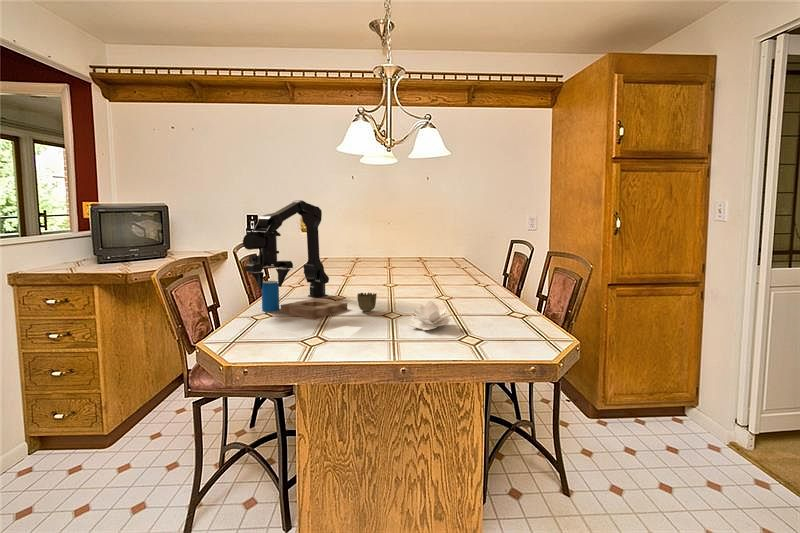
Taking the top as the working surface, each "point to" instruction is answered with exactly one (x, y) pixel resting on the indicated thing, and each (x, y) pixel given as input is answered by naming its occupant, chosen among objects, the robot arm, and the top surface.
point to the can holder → (313, 308)
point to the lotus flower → (429, 317)
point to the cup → (366, 302)
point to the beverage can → (270, 296)
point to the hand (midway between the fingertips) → (270, 288)
